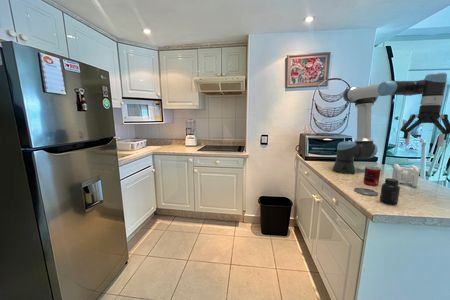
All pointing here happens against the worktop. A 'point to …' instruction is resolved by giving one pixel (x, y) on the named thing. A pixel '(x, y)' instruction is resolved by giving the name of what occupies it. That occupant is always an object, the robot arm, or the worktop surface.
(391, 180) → the supplement bottle
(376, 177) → the canned food
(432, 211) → the worktop surface
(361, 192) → the coaster
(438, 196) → the worktop surface
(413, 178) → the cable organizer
